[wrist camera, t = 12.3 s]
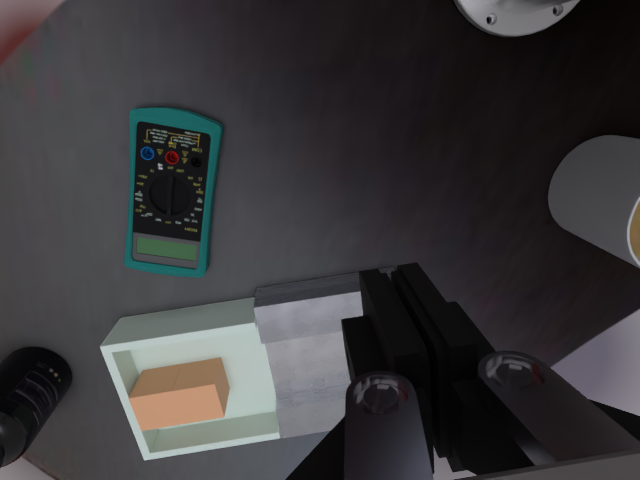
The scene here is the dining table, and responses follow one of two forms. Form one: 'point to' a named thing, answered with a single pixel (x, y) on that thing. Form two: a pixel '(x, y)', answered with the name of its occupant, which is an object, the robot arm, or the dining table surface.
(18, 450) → the supplement bottle
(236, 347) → the tray
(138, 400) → the chip
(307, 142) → the dining table surface
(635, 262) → the coffee mug
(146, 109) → the digital multimeter
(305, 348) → the slotted block
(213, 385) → the chip
